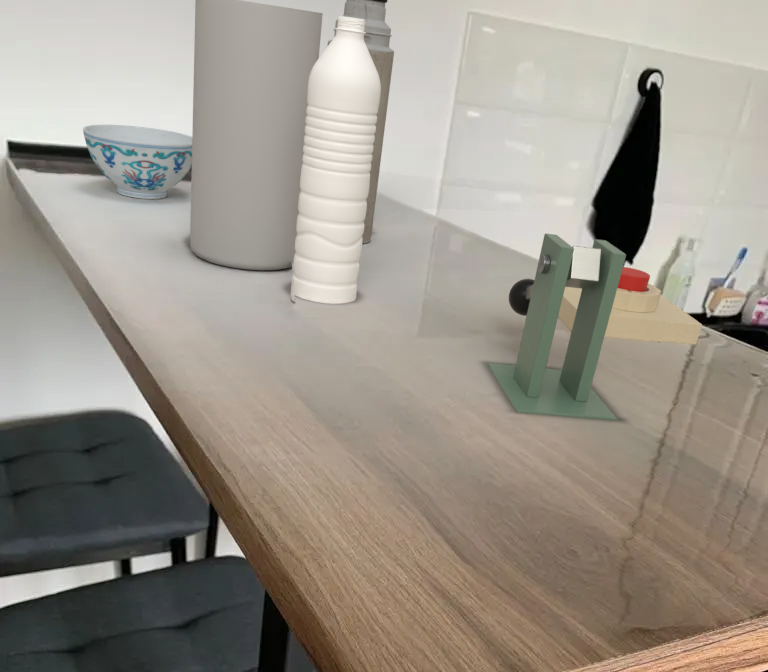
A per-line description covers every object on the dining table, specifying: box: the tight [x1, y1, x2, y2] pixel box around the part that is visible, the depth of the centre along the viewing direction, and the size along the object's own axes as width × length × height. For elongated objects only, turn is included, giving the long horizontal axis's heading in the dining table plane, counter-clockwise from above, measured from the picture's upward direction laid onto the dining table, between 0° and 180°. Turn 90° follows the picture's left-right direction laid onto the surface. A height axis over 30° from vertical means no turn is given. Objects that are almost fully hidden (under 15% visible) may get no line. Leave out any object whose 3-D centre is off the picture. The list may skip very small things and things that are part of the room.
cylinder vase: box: [189, 0, 324, 271], centre depth 92 cm, size 12×12×25 cm
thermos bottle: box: [327, 0, 395, 245], centre depth 107 cm, size 8×8×28 cm
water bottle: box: [290, 15, 381, 305], centre depth 81 cm, size 9×6×25 cm
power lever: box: [508, 245, 601, 317], centre depth 71 cm, size 15×3×3 cm, turn 7°
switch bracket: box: [487, 233, 627, 421], centre depth 67 cm, size 10×8×13 cm
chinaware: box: [82, 124, 192, 200], centre depth 118 cm, size 15×15×8 cm
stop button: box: [618, 266, 651, 292], centre depth 89 cm, size 4×4×2 cm
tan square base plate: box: [558, 283, 703, 346], centre depth 90 cm, size 13×11×5 cm
